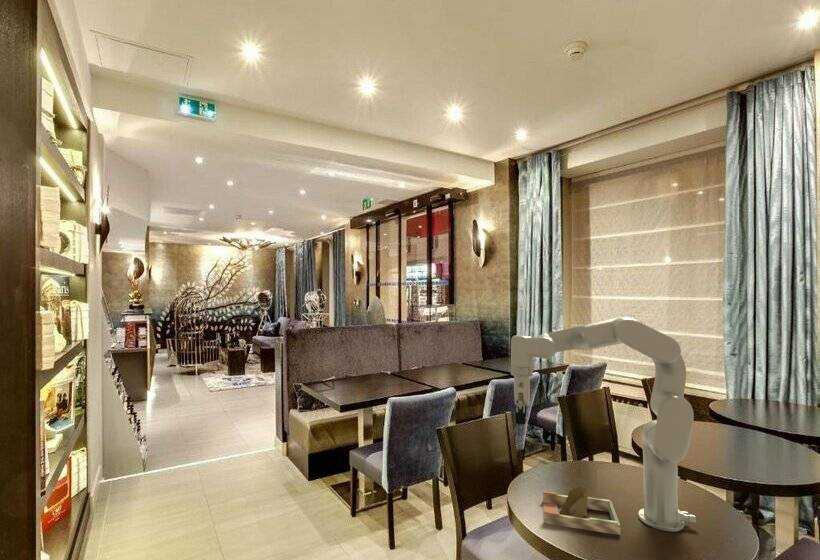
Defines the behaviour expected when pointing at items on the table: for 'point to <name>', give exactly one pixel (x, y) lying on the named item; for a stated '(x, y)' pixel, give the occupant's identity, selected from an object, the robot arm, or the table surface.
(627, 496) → the table surface
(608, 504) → the box
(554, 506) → the pads
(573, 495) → the rock
